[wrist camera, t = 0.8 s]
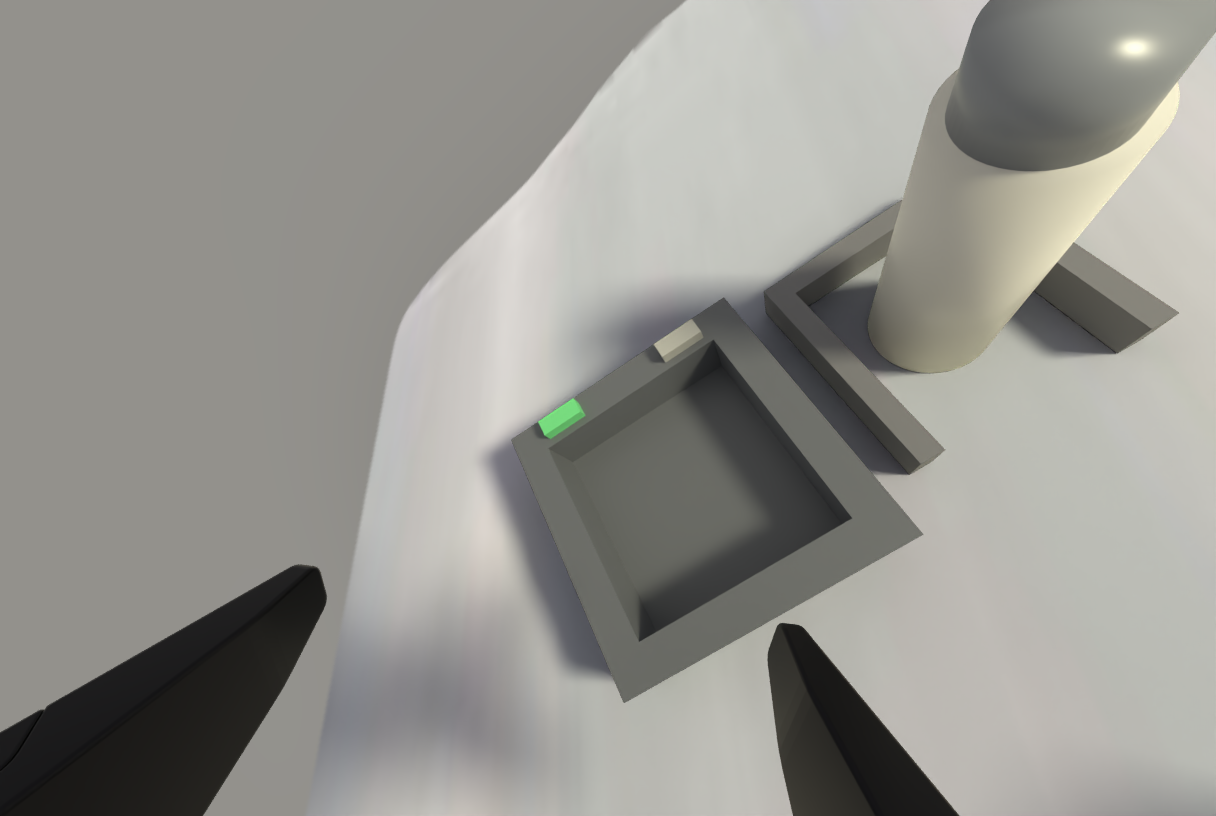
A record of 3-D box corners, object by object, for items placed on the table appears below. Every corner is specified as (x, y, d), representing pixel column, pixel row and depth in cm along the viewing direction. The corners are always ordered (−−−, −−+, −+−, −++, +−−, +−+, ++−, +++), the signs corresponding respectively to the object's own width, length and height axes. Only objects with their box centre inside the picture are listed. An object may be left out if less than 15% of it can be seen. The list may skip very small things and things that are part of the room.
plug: (1022, 330, 20) (1340, -17, 8) (919, 393, 20) (1083, 148, 9) (935, 260, 22) (1091, -91, 10) (844, 318, 22) (899, 45, 11)
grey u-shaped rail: (1141, 339, 18) (1179, 312, 16) (909, 474, 19) (920, 463, 18) (943, 196, 23) (956, 163, 21) (766, 312, 24) (763, 291, 22)
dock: (901, 542, 19) (928, 532, 15) (650, 684, 20) (618, 707, 16) (732, 334, 24) (722, 290, 21) (545, 457, 26) (504, 436, 22)
